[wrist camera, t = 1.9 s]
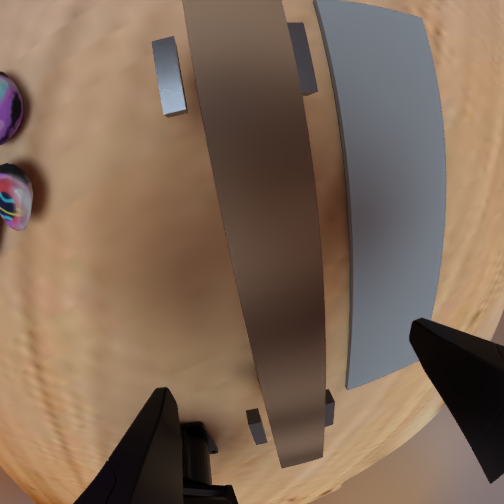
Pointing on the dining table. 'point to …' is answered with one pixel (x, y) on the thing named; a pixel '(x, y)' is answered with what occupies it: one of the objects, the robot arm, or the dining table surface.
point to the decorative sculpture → (9, 175)
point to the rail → (266, 206)
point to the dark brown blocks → (255, 418)
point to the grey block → (172, 77)
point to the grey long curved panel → (387, 177)
